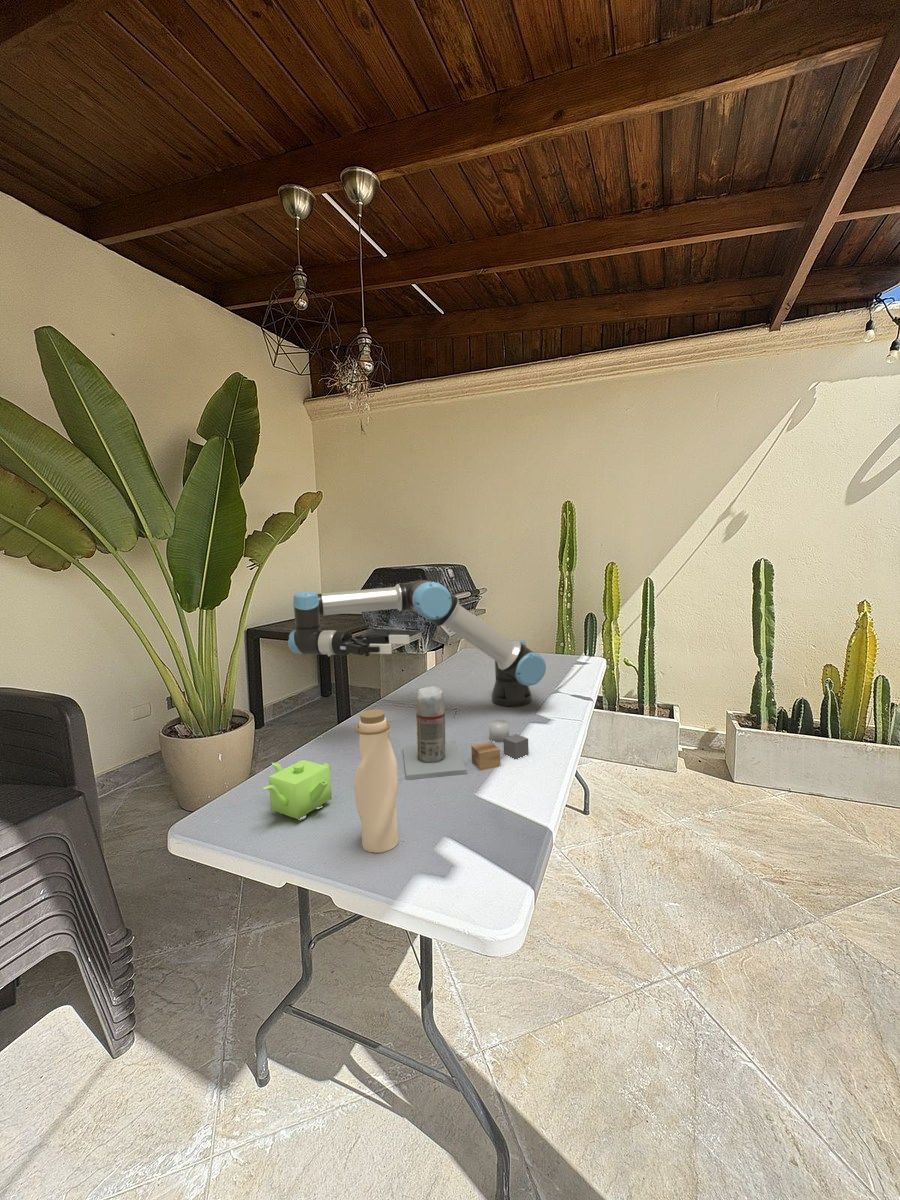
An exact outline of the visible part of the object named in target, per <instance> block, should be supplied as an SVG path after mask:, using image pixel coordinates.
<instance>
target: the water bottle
mask: <svg viewBox="0 0 900 1200" xmlns="http://www.w3.org/2000/svg"><path fill="white" fill-rule="evenodd" d="M359 715H360V716H359V717H360V718H359V719H360V720H358V721H359V722H358V724H357V725H355V728H354V729H355V732H356V733H357V734H359V745H358V746H359V747H358V748H359V749H358V750H359V756H360V760H361V761H360V763H359V764H358V767H357V769H356V770H355V774H354V778H353V779H354V781H353V782H354V783H353V789H354V799H355V800H354V801H355V806H356V810H357V814H358V817H359V821H360V824H361V825H360V826H361V846H363V847H362V848H363V849H364V851H366V850H367V851H366V852H369V853H372V852H374V853H373V854H380V853H385V852H388V851H390V850H392V849H393V848H395V847H396V846H397V845H398V844H399V841H400V839H399V838H400V837H399V824H398V814H397V813H398V812H397V808H396V803H397V797H398V789H399V780H398V779H399V778H398V764H397V758H396V755H395V752H394V749H393V746H392V744H391V721H390V720H387V718H386V717H385V711H384V710H380V709H370V710H365V711H362V712H361V713H360V714H359Z"/></svg>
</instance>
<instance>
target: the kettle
mask: <svg viewBox="0 0 900 1200" xmlns="http://www.w3.org/2000/svg"><path fill="white" fill-rule="evenodd" d="M271 765H272V766H273V767H274V770H275V771H276V772H275V773H272V774H271V775H270V776H268V778H267V779H268V785H266V786H264V787H263V788H262V789H263V790H267V791H269V799H270V801H269V802H270V809H271V811H273V812H276V813H279V814H280V815H282V814H284V815H283V816H287V817H290V818H293V819H296V820H297V819H300V818H301V817H303V816H305V815H306V816H307V814H309V813H312V811H314V810H316V808H317V807H321V806H322V805H324V804H326V803H327V802H329V801H331V800H332V799H333V797H332V788H331V787H332V786H331V784H332V783H331V773H330V771H331V768H332V765H330V764H329V763H326V762H324V763H323V764H320V763H316V762H313V761H309V760H305V759H302V760H299V761H298V762H296V763H293V764H291V765H289V766H287V767H285V768H283V767H282V766H281V764H280V763H278V762H271Z"/></svg>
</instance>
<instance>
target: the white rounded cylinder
mask: <svg viewBox="0 0 900 1200" xmlns="http://www.w3.org/2000/svg"><path fill="white" fill-rule="evenodd" d="M488 725H489V726H488V731H489V740H490V741H491V740H492V741H491V742H493V741H495V742H494V743H503V738H506V737H508V736H510V730H509V729H510V728H509V726H510V725H509V721H507V720H504V719H495V720H491V721H489V723H488Z"/></svg>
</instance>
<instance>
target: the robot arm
mask: <svg viewBox="0 0 900 1200" xmlns="http://www.w3.org/2000/svg"><path fill="white" fill-rule="evenodd" d="M292 598H293V600H292V603H293V604H292V606H293V611H294V612H293V613H294V622H295V624H294V625H295V629H294V630H292V631H290V633H289V635H288V639H287V645H288V648H289V650H290V651H291V652H292V653H293V654H300V655H304V656H305V655H327V657H331V656H333V655H336V656H348V655H350V654H352V655H359V656H364V657H370V654H372V655H373V654H374V655H375V654H377V655H379V654H380V655H392V654H393V653H392V650H393V649H392V645H410V635H409V634H391V632H390V631H388V632H387V633H379V634H378V633H377V634H360V635H355V636H354V637H353V635H352V633H351V632H350V631H348V630H334V629H333V630H332V629H331V630H329V629H328V630H327V629H326V630H323V629H322V630H321V622H320V621H321V619H320V617H321V616H330V615H332V616H333V615H340V614H351V613H352V614H353V613H354V614H355V613H364V612H375V611H382V610H383V611H385V610H393V609H394V610H396V609H397V610H398V611H399V612H403V611H404V612H405V611H409V612H411V611H412V612H415V613H417V614H418V615H420V616H421V617H422V618H425V619H426V620H428V621H429V622H431V623H432V624H433V625H434V626H437V627H438V628H439V627H446V628H447V629H449V630H450V631H452V632H453V633H454V634H456V635H458V636H459V637H461V638H462V639H463V640H465V641H466V642H467V643H469V644H471V645H472V646H473V647H475V648H476V649H478V650H480V651H481V652H483V653H484V654H485V655H486V656H488V657H489V658H491V659H492V660H494V670H495V671H494V672H495V674H494V675H495V682H494V685H493V689H492V692H491V702H492V703H493V704H495V705H498V706H501V707H502V706H503V707H519V706H525V705H528V704H530V703H531V702H532V701H533V700H532V698H533V697H532V691H531V689H530V686H531V687H532V686H535V685H537V684H539V683H540V682H541V681H542V679H543V678H544V676H545V674H546V670H547V668H546V667H547V666H546V661H545V659H544V657H543V656H542V655H540V654H539V653H537V652H534V651H533V650H531V649H530V648H528V647H527V644H526V641H525V640H523V639H513V640H512V639H511V640H510V639H509V638H507V637H505V636H504V635H502V634H501V633H500V632H499V631H498V630H496V629H495V628H493V627H491V626H490V625H489V624H487V623H485V622H484V621H483V620H481V619H480V618H479V617H477V616H476V615H474V614H473V613H471V612H470V611H469V610H468V609H466V608H464V607H463V606H462V605H460V602H459V601H460V600H459V598H458V597H457V596H456V595H454V594H453V593H452V592H450V591H449V590H448V589H447V587H446V586H445V585H443V584H441V583H439V582H436V581H431V580H426V579H421V580H415V581H410V582H409V581H408V582H403V583H397V584H396V585H395V586H389V587H381V588H380V587H378V588H369V589H357V590H347V591H346V590H345V591H344V590H343V591H335V592H334V591H333V592H322V593H317V592H316V591H300V592H296V593H294V594H293V597H292Z"/></svg>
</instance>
